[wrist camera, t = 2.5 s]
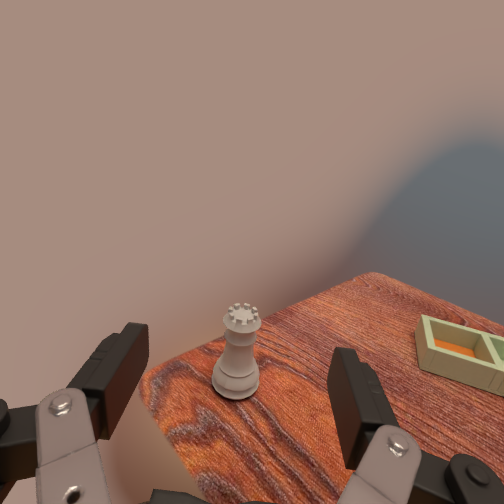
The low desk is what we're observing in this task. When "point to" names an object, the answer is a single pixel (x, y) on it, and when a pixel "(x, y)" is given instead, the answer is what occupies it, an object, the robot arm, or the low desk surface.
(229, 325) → the rook chess piece
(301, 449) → the low desk surface
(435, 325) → the socket pad
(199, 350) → the low desk surface
